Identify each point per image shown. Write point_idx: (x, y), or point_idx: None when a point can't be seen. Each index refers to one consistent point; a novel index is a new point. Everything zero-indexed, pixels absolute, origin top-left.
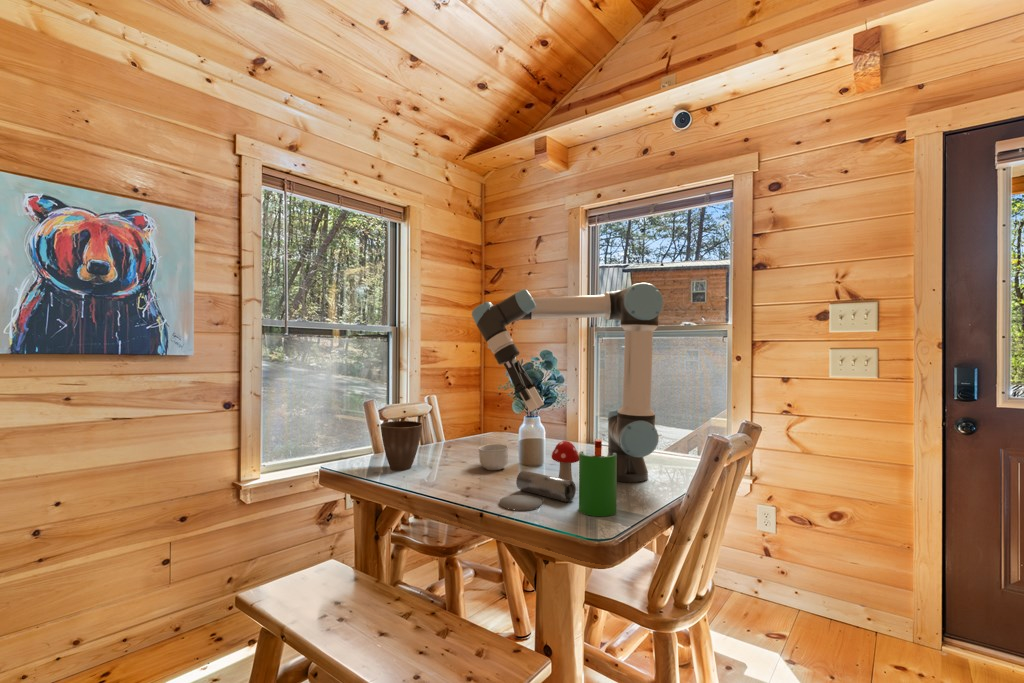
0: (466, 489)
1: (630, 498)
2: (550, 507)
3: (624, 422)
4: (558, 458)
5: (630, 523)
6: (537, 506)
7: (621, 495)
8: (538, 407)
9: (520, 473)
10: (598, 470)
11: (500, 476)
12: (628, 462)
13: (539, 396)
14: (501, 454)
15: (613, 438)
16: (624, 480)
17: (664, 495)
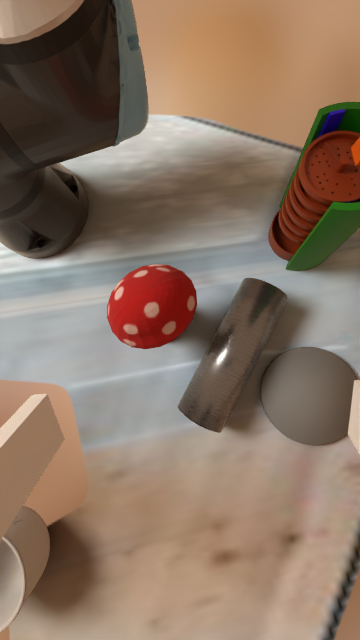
0: (237, 558)
1: (197, 188)
2: (308, 327)
3: (97, 46)
4: (190, 319)
5: None
6: (328, 351)
7: (181, 205)
8: (60, 429)
9: (213, 426)
10: None
11: (98, 497)
12: (56, 176)
13: (3, 444)
14: (20, 535)
15: (26, 167)
16: (86, 207)
17: (159, 133)
